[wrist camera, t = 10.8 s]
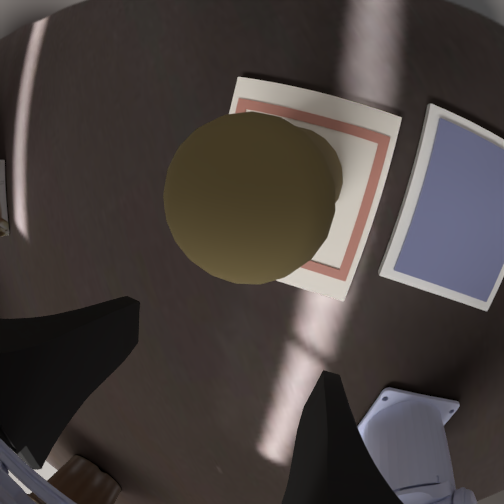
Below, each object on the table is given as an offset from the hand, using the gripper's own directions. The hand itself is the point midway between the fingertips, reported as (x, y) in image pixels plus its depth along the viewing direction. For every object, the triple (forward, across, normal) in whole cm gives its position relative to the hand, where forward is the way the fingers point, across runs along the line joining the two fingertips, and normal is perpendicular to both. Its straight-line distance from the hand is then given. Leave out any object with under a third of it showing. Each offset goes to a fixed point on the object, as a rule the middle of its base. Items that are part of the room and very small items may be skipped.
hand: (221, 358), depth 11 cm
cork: (+10, 0, -6) cm, 12 cm away
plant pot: (+11, +22, +57) cm, 62 cm away
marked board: (+10, 0, -5) cm, 11 cm away
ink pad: (+10, -11, -7) cm, 17 cm away
